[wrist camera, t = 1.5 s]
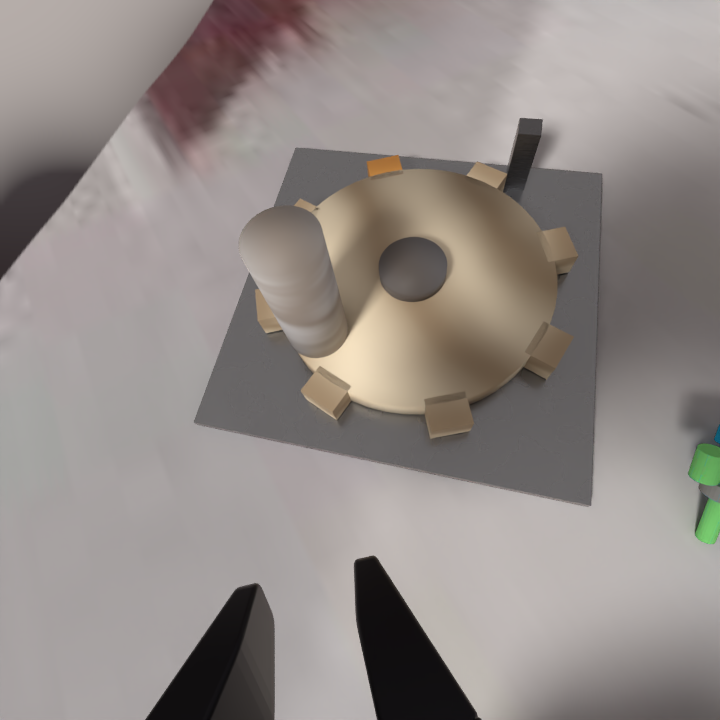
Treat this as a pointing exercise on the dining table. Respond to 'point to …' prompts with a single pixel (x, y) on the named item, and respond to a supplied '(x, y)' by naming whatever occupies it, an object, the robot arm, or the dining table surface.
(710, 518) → the gear
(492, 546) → the dining table surface
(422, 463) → the bearing plate
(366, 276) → the turntable
